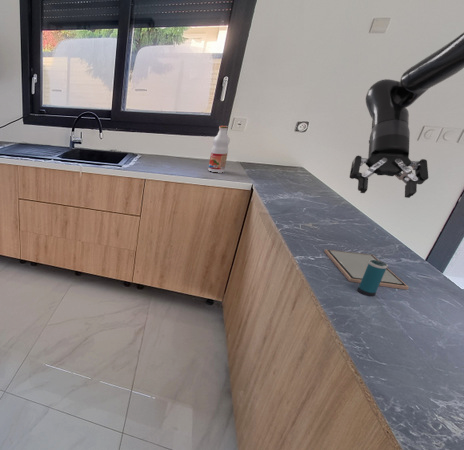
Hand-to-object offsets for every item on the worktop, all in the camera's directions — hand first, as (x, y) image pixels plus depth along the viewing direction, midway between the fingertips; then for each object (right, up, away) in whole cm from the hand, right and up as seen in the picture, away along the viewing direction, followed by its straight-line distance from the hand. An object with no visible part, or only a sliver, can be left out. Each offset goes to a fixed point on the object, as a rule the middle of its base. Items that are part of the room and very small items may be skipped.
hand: (385, 193), depth 79 cm
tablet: (+3, -20, +10) cm, 23 cm away
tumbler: (-6, -25, -1) cm, 26 cm away
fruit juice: (+15, +26, +119) cm, 123 cm away
